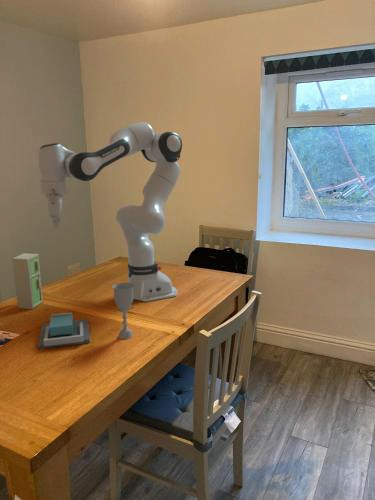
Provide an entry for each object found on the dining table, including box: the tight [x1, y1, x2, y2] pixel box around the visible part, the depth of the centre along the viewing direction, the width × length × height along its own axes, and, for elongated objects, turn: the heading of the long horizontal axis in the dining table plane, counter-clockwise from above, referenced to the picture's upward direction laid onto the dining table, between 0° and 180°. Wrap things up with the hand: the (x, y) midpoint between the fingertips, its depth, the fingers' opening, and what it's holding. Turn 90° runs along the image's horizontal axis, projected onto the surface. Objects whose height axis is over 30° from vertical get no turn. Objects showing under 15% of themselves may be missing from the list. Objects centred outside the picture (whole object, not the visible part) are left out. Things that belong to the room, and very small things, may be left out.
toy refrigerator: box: [12, 252, 44, 310], centre depth 157 cm, size 8×7×21 cm
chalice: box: [112, 282, 134, 340], centre depth 131 cm, size 7×7×18 cm
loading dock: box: [37, 318, 91, 350], centre depth 135 cm, size 16×21×4 cm
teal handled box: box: [49, 312, 74, 338], centre depth 133 cm, size 7×10×5 cm
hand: (56, 225), depth 148 cm, fingers open, 8 cm apart
